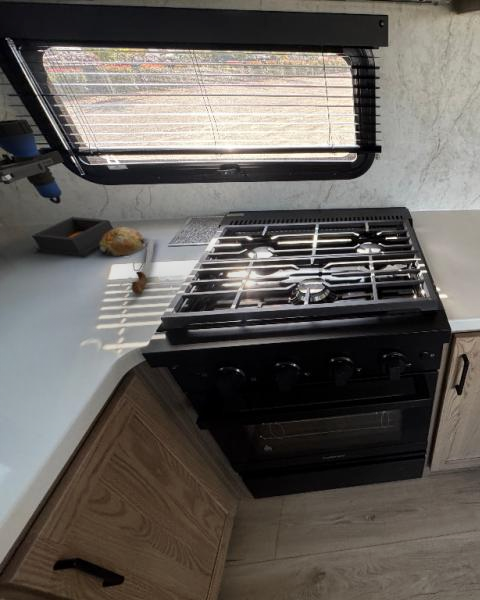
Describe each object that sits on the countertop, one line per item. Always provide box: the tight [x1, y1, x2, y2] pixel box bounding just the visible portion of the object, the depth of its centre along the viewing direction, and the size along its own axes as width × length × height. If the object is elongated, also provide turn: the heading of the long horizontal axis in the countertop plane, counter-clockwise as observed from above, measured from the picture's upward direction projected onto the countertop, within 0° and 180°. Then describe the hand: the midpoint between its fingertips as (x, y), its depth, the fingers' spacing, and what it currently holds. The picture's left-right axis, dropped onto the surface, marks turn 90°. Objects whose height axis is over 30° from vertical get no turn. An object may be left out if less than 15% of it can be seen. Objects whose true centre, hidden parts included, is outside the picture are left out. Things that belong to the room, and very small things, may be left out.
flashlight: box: [0, 118, 63, 205], centre depth 87 cm, size 8×8×20 cm
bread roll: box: [99, 226, 146, 257], centre depth 99 cm, size 10×10×8 cm
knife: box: [131, 239, 155, 294], centre depth 91 cm, size 4×1×30 cm
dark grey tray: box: [31, 216, 114, 258], centre depth 100 cm, size 15×13×6 cm
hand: (50, 155), depth 91 cm, fingers closed on flashlight, 5 cm apart
